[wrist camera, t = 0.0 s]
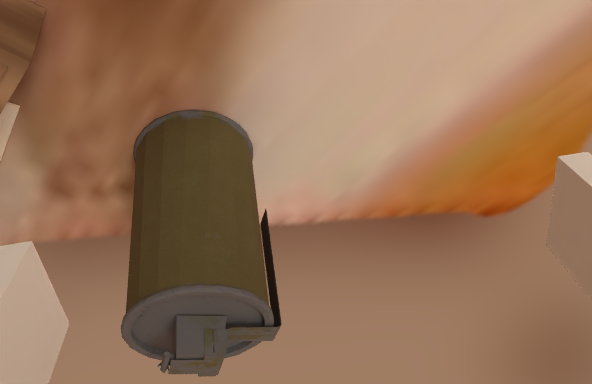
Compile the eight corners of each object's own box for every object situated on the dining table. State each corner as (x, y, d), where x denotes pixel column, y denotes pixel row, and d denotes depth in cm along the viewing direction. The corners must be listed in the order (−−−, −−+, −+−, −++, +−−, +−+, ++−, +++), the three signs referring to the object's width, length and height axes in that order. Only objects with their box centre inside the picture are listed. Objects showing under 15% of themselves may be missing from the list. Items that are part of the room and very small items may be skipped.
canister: (130, 188, 52) (115, 400, 39) (137, 101, 45) (120, 328, 32) (245, 196, 55) (265, 395, 42) (269, 116, 48) (302, 328, 35)
